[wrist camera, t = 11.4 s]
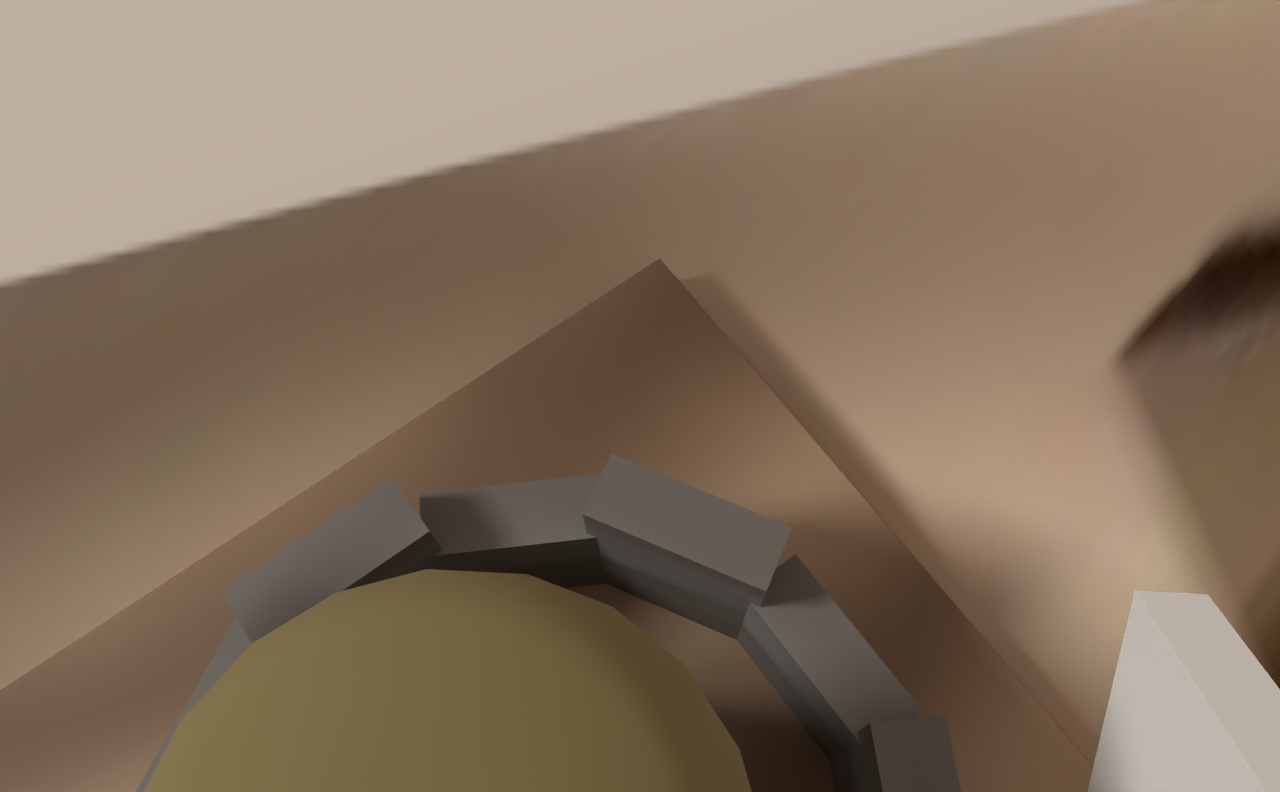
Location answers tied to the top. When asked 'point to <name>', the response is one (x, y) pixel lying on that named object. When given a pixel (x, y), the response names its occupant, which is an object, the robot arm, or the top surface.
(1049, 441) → the top surface
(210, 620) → the collar
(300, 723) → the cork
